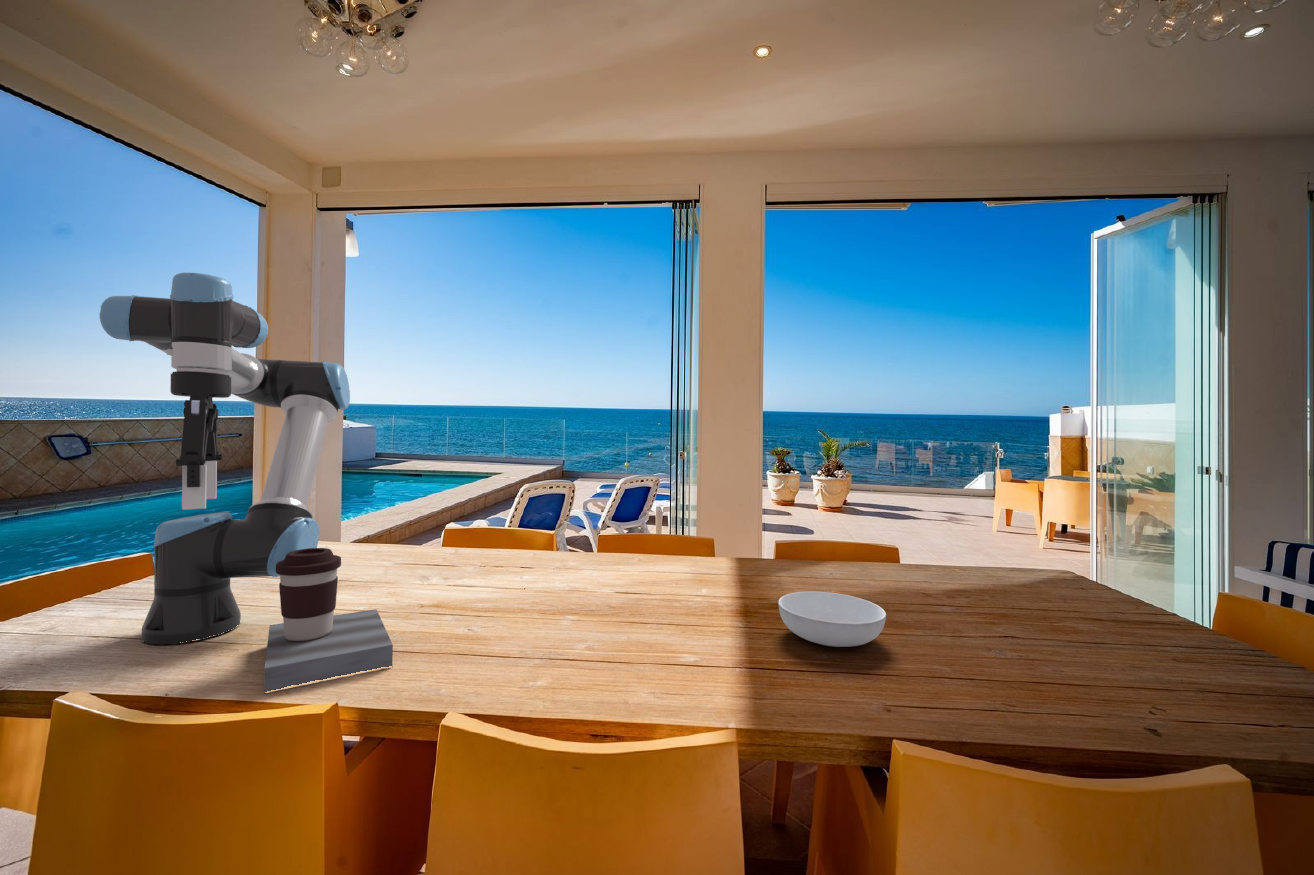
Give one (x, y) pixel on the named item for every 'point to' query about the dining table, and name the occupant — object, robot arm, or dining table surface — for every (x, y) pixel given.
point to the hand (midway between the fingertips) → (200, 503)
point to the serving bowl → (831, 618)
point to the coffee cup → (308, 592)
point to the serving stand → (328, 651)
